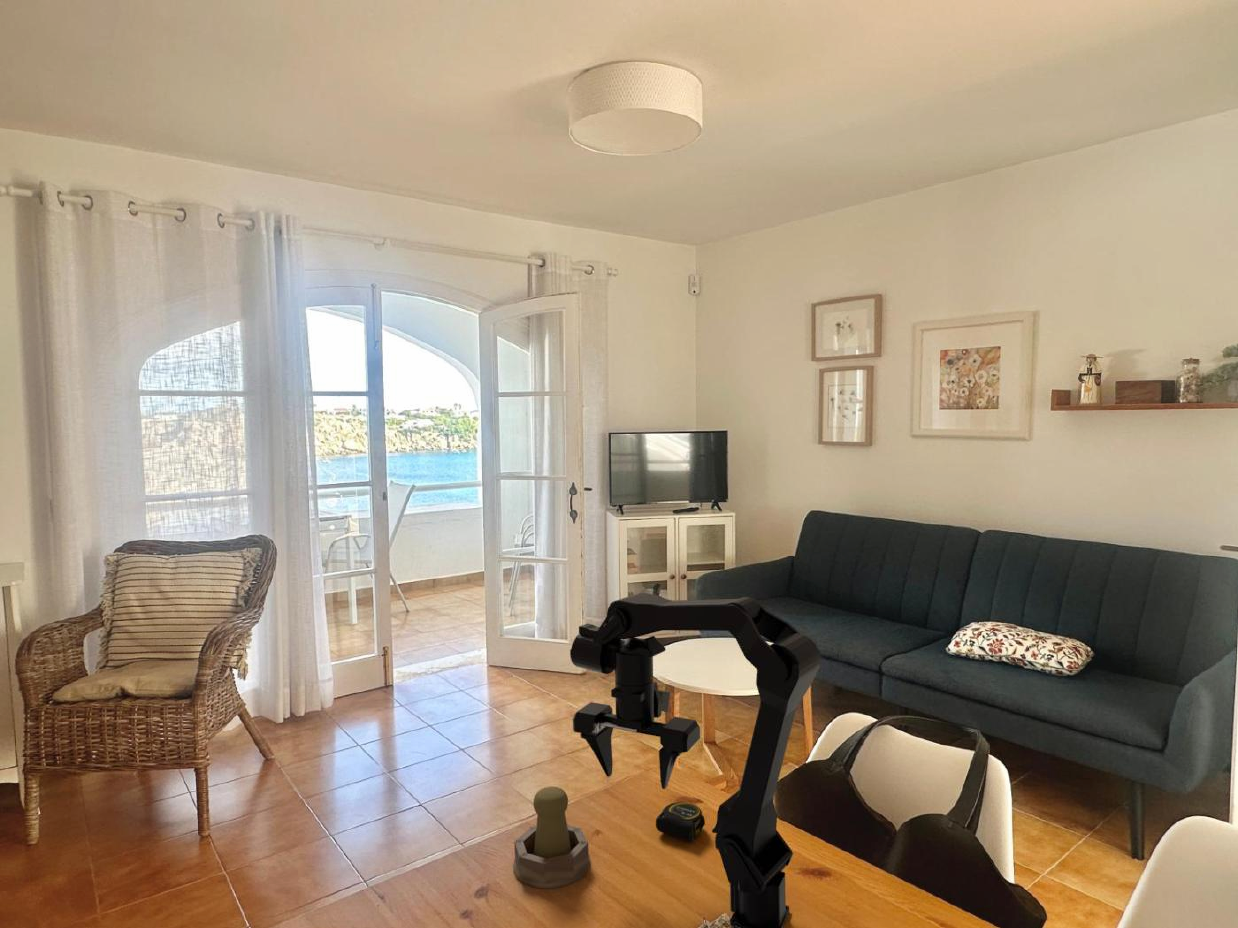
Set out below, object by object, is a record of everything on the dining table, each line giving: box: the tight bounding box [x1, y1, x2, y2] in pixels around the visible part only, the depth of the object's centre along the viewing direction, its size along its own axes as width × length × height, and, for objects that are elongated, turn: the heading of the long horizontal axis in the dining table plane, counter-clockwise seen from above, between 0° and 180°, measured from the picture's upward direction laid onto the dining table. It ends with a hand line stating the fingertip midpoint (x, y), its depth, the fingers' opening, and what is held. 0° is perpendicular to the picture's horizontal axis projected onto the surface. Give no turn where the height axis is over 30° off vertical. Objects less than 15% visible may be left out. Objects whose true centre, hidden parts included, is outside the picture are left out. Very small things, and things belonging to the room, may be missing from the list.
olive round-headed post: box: [532, 786, 571, 859], centre depth 114 cm, size 6×6×11 cm
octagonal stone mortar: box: [512, 824, 591, 890], centre depth 115 cm, size 12×12×4 cm
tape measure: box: [655, 801, 706, 843], centre depth 123 cm, size 7×7×4 cm
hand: (636, 781), depth 113 cm, fingers open, 9 cm apart
